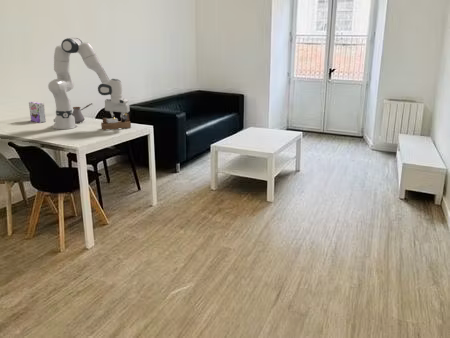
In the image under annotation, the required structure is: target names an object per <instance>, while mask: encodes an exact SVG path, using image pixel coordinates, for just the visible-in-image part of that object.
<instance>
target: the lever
mask: <svg viewBox="0 0 450 338" xmlns="http://www.w3.org/2000/svg"><path fill="white" fill-rule="evenodd" d="M127 114H128V113H124V115H123V118H120V119H121V120H120V121H121V122H125V121H126V119H128V117H127ZM121 115H122V114H121V113H120V116H121Z"/></svg>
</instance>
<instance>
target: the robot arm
mask: <svg viewBox="0 0 450 338" xmlns="http://www.w3.org/2000/svg"><path fill="white" fill-rule="evenodd" d="M60 44H61V45H56V47H55V48H54V53H53V70H54V73H55V74H56V79H55V78H54V79H53V80H51V81H49V82H48V85H47V88H48V90H49V91H50V93H51V94H52V95H53V99H54V103H55V118H53V126H52V129H53V130H54V129H55V130H56V129H57V130H69V129H74V128H77V127H79V126H78V124H76V123H75V118H74V116H72V113H73V111H72V110H73V109H72V106H71V105H72V104H71V99H70V98H69V97H68V95H67V92H70V91H71V90H73V89H74V86H75V83H74V81H73V79H72V77H71V74H70V73H71V72H70V57H71V56H70V55H71V54H76V53H77V54H78V55H80V57H81V59H82V62H83V63H84V64H85V66H86V67H87V68H88V69H90V71H91V70H92V71H93V72H94V73H96V75H97V76H98V79H99V81H100V82H101V83H100V84H98V86H97V92H98V94H99V95H101V96H110V99H108V98H106V99H105V100H104V111H106V112H109V113H110V115H111V118H115V114H114V112H115V113H120V117H119V118H120V119H121V118H123V115H124V113H127V114H129V112H130V111H131V110H130V104H129V99H127V98H125V97H123V94H122V93H123V84H122V81H121V80H120V79H118V78H111V79H110V77H108V75H107V73H106V71H105V70H104V67H103V66H102V64H101V62H100V59H99V57H98V55H97V52H96V50H95V49H94V48H93V46H92V45H91V44H90V43H89V42H85V41H84V42H83V41H82V40H81V39H80V38H77V37H69V38H68V37H67V38H64V39H63V40H62V41H61V43H60ZM121 114H122V115H121Z"/></svg>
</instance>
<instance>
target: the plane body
mask: <svg viewBox="0 0 450 338" xmlns="http://www.w3.org/2000/svg"><path fill="white" fill-rule="evenodd" d="M127 117H128V119H125V122H121V120H120V121H119V120H118V123H107V119H108V118H107V117H103V118H102V122H101V123H100V124H101V125H100V126H101V130H103V131H107V130H106V129H114V130H119V129H118V128H125V129H131V128H132V125H131V121H130V114H129V113H127ZM130 127H131V128H130Z"/></svg>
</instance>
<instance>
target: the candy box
mask: <svg viewBox="0 0 450 338" xmlns="http://www.w3.org/2000/svg"><path fill="white" fill-rule="evenodd" d="M28 106H29V114H30V121H31V122H35V123H40V124H42V123H46V122H47V120H46V112H45V103H44V102H39V101H35V100H34V101H29V102H28Z"/></svg>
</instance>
